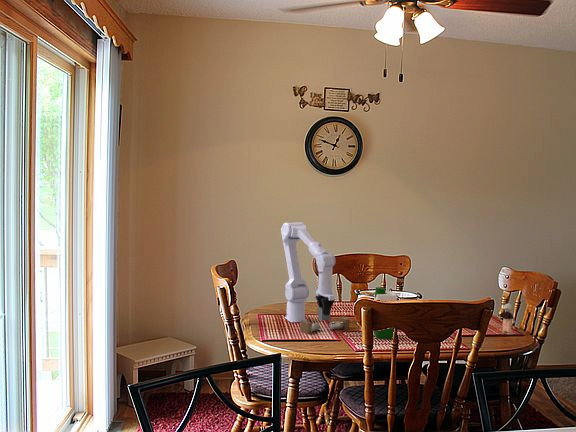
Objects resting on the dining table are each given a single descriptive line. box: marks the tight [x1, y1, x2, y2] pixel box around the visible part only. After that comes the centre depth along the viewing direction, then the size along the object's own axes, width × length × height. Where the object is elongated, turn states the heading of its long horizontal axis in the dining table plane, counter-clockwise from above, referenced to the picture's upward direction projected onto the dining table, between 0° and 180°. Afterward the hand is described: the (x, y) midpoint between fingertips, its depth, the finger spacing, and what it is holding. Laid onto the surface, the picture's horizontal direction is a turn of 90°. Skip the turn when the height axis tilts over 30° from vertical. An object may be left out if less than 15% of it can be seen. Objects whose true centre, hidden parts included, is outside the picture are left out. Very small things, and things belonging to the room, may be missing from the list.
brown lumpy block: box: [299, 321, 321, 335], centre depth 243 cm, size 8×5×4 cm, turn 129°
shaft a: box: [328, 316, 350, 331], centre depth 248 cm, size 8×5×4 cm, turn 109°
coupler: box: [317, 306, 332, 321], centre depth 246 cm, size 4×4×5 cm
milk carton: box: [373, 286, 398, 340], centre depth 237 cm, size 9×9×20 cm
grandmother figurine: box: [498, 303, 516, 335], centre depth 247 cm, size 8×4×13 cm, turn 46°
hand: (324, 313), depth 246 cm, fingers closed on coupler, 4 cm apart
